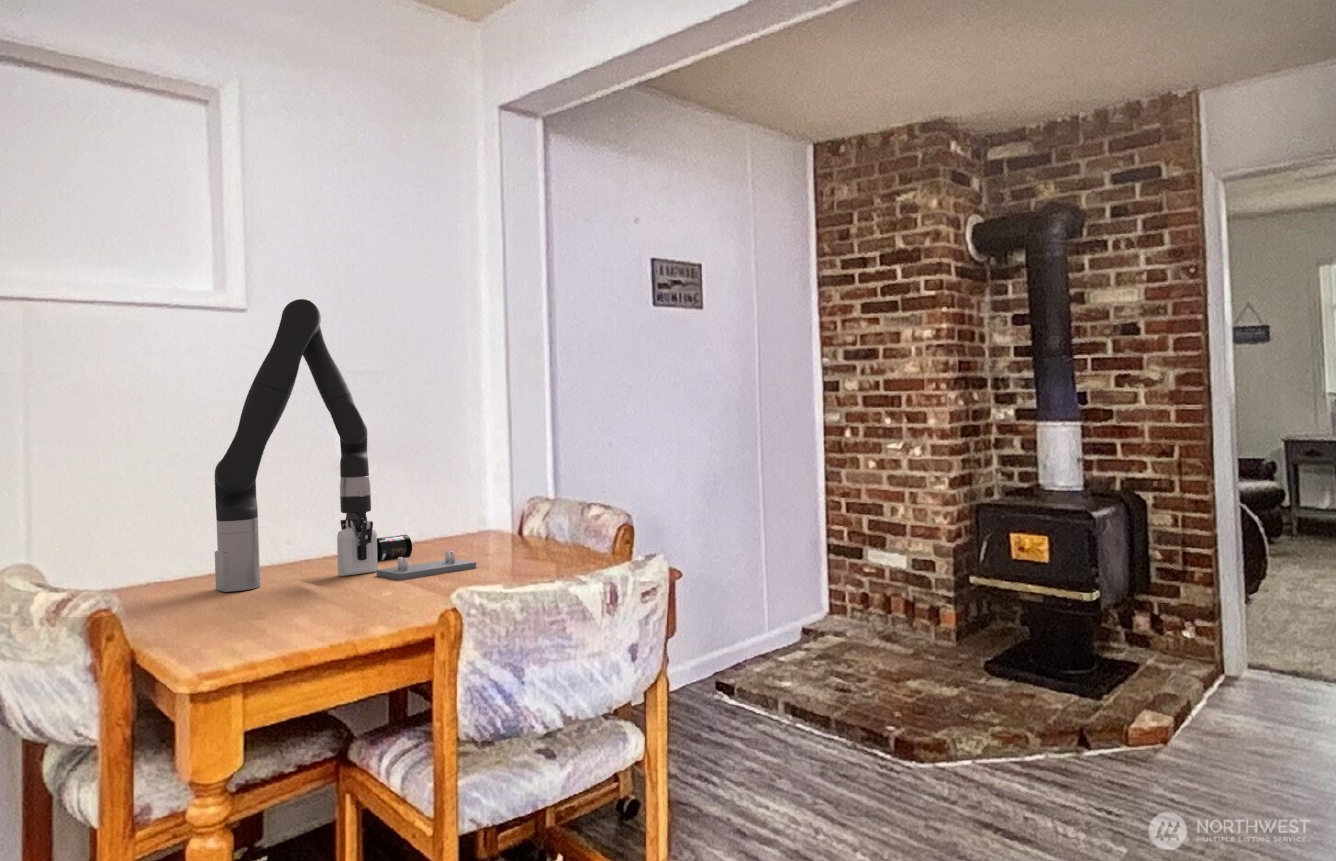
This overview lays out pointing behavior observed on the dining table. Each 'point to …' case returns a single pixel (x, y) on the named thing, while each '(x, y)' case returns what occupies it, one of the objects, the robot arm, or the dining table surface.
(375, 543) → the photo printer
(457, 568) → the pin dock
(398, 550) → the supplement container
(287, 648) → the dining table surface
